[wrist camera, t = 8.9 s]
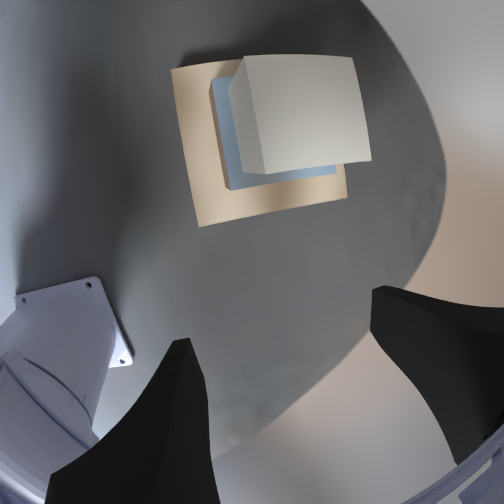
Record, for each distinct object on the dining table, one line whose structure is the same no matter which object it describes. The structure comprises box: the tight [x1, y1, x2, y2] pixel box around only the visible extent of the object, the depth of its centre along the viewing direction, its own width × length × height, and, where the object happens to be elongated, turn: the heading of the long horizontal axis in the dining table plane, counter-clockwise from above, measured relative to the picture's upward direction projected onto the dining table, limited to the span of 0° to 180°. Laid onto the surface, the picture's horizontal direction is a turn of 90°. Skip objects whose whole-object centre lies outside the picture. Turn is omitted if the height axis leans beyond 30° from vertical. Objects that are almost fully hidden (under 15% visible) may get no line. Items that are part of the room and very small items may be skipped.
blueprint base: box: [171, 59, 347, 227], centre depth 15 cm, size 10×10×4 cm
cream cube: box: [228, 54, 371, 174], centre depth 11 cm, size 4×4×4 cm
